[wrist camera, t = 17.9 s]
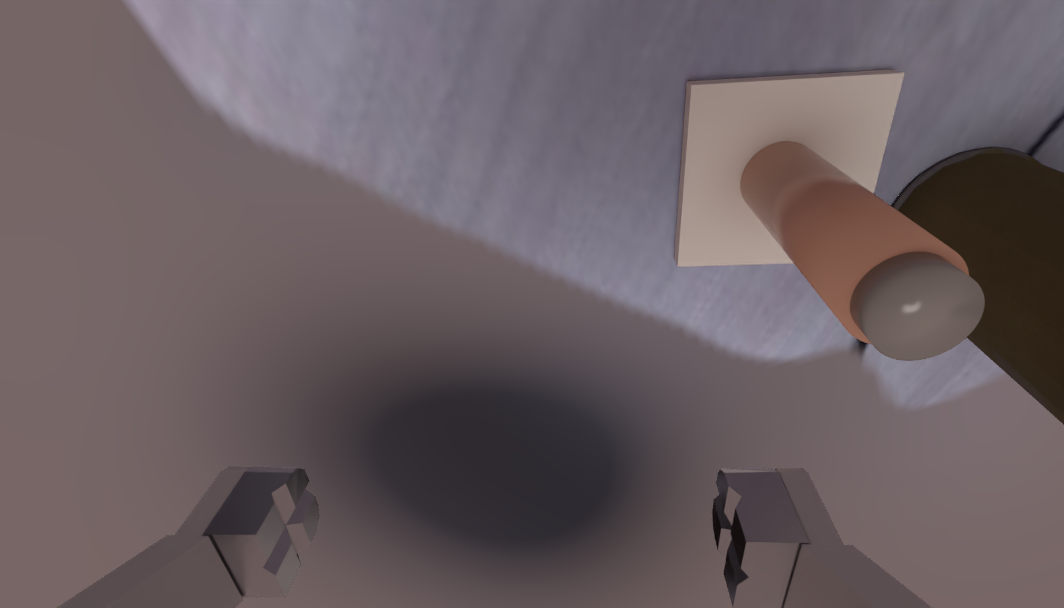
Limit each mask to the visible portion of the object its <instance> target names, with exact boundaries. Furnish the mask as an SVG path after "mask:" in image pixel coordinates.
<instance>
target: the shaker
mask: <svg viewBox="0 0 1064 608" xmlns="http://www.w3.org/2000/svg"><path fill="white" fill-rule="evenodd" d="M740 189H741V194H742V197H743V199H744V201H745V202H746V204H747V205H748V206H749V207H750V209H751V210H752V211H753V212H754V214H755V215H756V216H757V217H758V219H759V220H760V221H761V223H762V224H763V225H764V226H765V228H766V229H767V230H768V231H769V233H770V234H771V235H772V236H773V238H774V239H775V240H776V241H777V243H778V244H779V245H780V246H781V248H782V249H783V250H784V252H785V253H786V254H787V255H788V257H789V258H790V259H791V260H792V262H793V263H794V264H795V265H796V267H797V268H798V269H799V270H800V272H801V273H802V274H803V275H804V277H805V278H806V279H807V281H808V282H809V283H810V284H811V286H812V287H813V288H814V289H815V291H816V292H817V293H818V294H819V296H820V297H821V298H822V299H823V301H824V302H825V303H826V304H827V306H828V307H829V308H830V310H831V311H832V312H833V313H834V315H835V316H836V317H837V318H838V320H839V321H840V322H841V323H842V325H843V326H844V327H845V328H846V330H847V331H848V332H849V333H850V334H851V335H852V336H854V337H855V338H857V339H859V340H861V341H863V342H865V343H869V344H872V345H873V346H874V347H875V348H876V349H877V350H878V351H879V352H880V353H882V354H883V355H885V356H887V357H890V358H893V359H897V360H906V361H912V360H921V359H926V358H930V357H934V356H936V355H939V354H941V353H944V352H946V351H948V350H950V349H951V348H953V347H955V346H956V345H958V344H959V343H960V342H962V341H963V340H964V339H965V338H966V337H967V336H968V335H969V334H970V333H971V332H972V331H973V330H974V329H975V327H976V326H977V324H978V323H979V321H980V319H981V317H982V314H983V311H984V305H985V299H984V294H983V291H982V289H981V287H980V286H979V284H978V283H977V282H976V281H975V280H974V279H972V278H971V277H970V276H969V271H968V267H967V265H966V263H965V261H964V260H963V258H962V257H961V256H960V255H959V254H958V253H957V252H956V251H954V250H953V249H951V248H950V247H949V246H947V245H946V244H944V243H943V242H941V241H940V240H939V239H937V238H936V237H934V236H933V235H931V234H930V233H929V232H927V231H926V230H924V229H923V228H922V227H920V226H919V225H917V224H916V223H914V222H913V221H912V220H910V219H909V218H907V217H906V216H904V215H903V214H902V213H900V212H899V211H897V210H896V209H895V208H893V207H892V206H890V205H889V204H887V203H886V202H885V201H883V200H882V199H880V198H879V197H877V196H876V195H875V194H873V193H872V192H870V191H869V190H868V189H866V188H865V187H863V186H862V185H860V184H859V183H858V182H856V181H855V180H853V179H852V178H850V177H849V176H848V175H846V174H845V173H843V172H842V171H841V170H839V169H838V168H836V167H835V166H833V165H832V164H831V163H829V162H828V161H826V160H825V159H824V158H822V157H821V156H819V155H818V154H816V153H815V152H814V151H812V150H811V149H809V148H808V147H806V146H805V145H803V144H801V143H797V142H792V141H783V142H777V143H774V144H771V145H769V146H767V147H765V148H763V149H762V150H760V151H759V152H757V153H756V154H755V155H754V156H753V157H752V158H751V159H750V161H749V162H748V163H747V165H746V167H745V169H744V171H743V173H742V176H741V182H740Z"/></svg>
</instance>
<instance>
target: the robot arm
mask: <svg viewBox="0 0 1064 608" xmlns="http://www.w3.org/2000/svg"><path fill="white" fill-rule="evenodd" d="M308 483H309V478H308V476H307V474H306V472H305V469H301V468H281V467H235V466H229V467H227V468H226V469H224V470H222V471H221V472H220V473H219V475H218V476H217V477H216V479H215V480H214V482H213V483H212V484H211V486H210V487H209V488H208V490H207V491H206V492H205V494H204V495H203V497H202V498H201V499H200V501H199V502H198V504H197V505H196V506H195V507H194V509H193V510H192V512H191V513H190V515H189V516H188V517H187V518H186V520H185V521H184V523H183V524H182V525H181V527H180V528H179V529H178V531H177V532H176V534H175V535H166V536H165V537H164V538H162V539H160V540H159V541H158V542H156V543H154V544H153V545H151V546H150V547H148V548H147V549H145V550H144V551H142V552H141V553H139V554H138V555H136V556H135V557H133V558H131V559H130V560H128V561H127V562H125V563H124V564H122V565H121V566H119V567H118V568H116V569H115V570H113V571H112V572H110V573H109V574H107V575H106V576H104V577H103V578H101V579H100V580H98V581H96V582H95V583H93V584H92V585H90V586H89V587H87V588H86V589H84V590H83V591H82V592H80V593H78V594H77V595H75V596H74V597H72V598H71V599H69V600H68V601H66V602H65V603H63V604H62V605H60V606H58V607H57V608H235V607H236V606H237V605H239V603H241V602H242V601H243V598H242V597H286V596H287V593H288V591H289V589H290V587H291V585H292V583H293V580H294V579H295V577H296V575H297V572H298V570H299V568H300V566H301V563H300V559H299V555H298V554H299V553H301V552H302V551H303V550H304V549H306V548H307V547H308V546H309V545H311V543H312V540H313V538H314V536H315V533H316V531H317V526H318V520H319V506H318V502H317V499H316V497H315V496H314V495H313V494H312V493H311V492H309V491H308V490H307V489H305V488H306V486H307V485H308ZM716 485H717V488H718V492H719V495H718V496H717V497H716V498H715V499H714V500H713V509H712V522H713V531H714V537H715V541H716V546H717V550H718V552H719V553H720V554H721V555H723V556H724V557H725V558H726V561H725V567H724V577H725V581H726V584H727V588H728V592H729V596H730V599H731V603H732V607H733V608H932V607H931V606H929V605H928V604H927V603H926V602H924V601H923V600H922V599H921V598H919V597H918V596H917V595H915V594H914V593H913V592H912V591H910V590H909V589H908V588H907V587H905V586H904V585H903V584H901V583H900V582H899V581H898V580H896V579H895V578H894V577H893V576H891V575H890V574H889V573H887V572H886V571H885V570H884V569H882V568H881V567H880V566H879V565H877V564H876V563H875V562H873V561H872V560H871V559H870V558H868V557H867V556H866V555H864V554H863V553H862V552H861V551H859V550H858V549H857V548H856V547H854V546H853V545H844V544H843V542H842V540H841V538H840V536H839V534H838V532H837V530H836V528H835V526H834V524H833V522H832V520H831V518H830V516H829V514H828V512H827V510H826V508H825V506H824V504H823V502H822V500H821V498H820V496H819V494H818V492H817V490H816V488H815V486H814V484H813V482H812V480H811V478H810V476H809V473H808V472H807V471H805V470H804V469H803V468H800V469H796V468H793V469H773V468H762V469H761V468H760V469H759V468H758V469H757V468H755V469H720V470H719V472H718V474H717V480H716Z"/></svg>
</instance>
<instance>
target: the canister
mask: <svg viewBox="0 0 1064 608" xmlns="http://www.w3.org/2000/svg"><path fill="white" fill-rule="evenodd" d="M892 207H893V208H895V209H896V210H897V211H899V212H900V213H902V214H903V215H904V216H906V217H907V218H909V219H910V220H912V221H913V222H914V223H916V224H917V225H919V226H920V227H922V228H923V229H924V230H926V231H927V232H929V233H930V234H931V235H933V236H934V237H936V238H937V239H939V240H940V241H941V242H943V243H944V244H946V245H947V246H949V247H950V248H951V249H953V250H954V251H956V252H957V253H958V254H959V255H960V256H961V257H962V258H963V260H964V261H965V263H966V265H967V267H968V271H969V276H970V277H971V278H972V279H974V280H975V281H976V282H977V283H978V284H979V286H980V287H981V289H982V291H983V294H984V299H985V305H984V311H983V314H982V317H981V319H980V321H979V323H978V324H977V326H976V327H975V329H974V330H973V331H972V332H971V333H970V334H969V335H968V336H967V338H968V339H969V340H970V341H971V342H973V343H974V344H975V345H976V346H977V347H978V348H979V349H980V350H981V351H983V352H984V353H985V354H986V355H987V356H988V357H989V358H990V359H991V360H993V361H994V362H995V363H996V364H997V365H998V366H999V367H1000V368H1001V369H1003V370H1004V371H1005V372H1006V373H1007V374H1008V375H1009V376H1010V377H1011V378H1013V379H1014V380H1015V381H1016V382H1017V383H1018V384H1019V385H1020V386H1022V387H1023V388H1024V389H1025V390H1026V391H1027V392H1028V393H1029V394H1030V395H1032V396H1033V397H1034V398H1035V399H1036V400H1037V401H1038V402H1039V403H1040V404H1042V405H1043V406H1044V407H1045V408H1046V409H1047V410H1048V411H1049V412H1050V413H1052V414H1053V415H1054V416H1055V417H1056V418H1057V419H1058V420H1059V421H1061V422H1062V423H1063V424H1064V173H1063V172H1060V171H1057V170H1055V169H1052V168H1049V167H1047V166H1044V165H1042V164H1041V163H1039V162H1038V161H1037V160H1035V159H1034V158H1033V157H1031V156H1029V155H1027V154H1025V153H1023V152H1020V151H1016V150H1012V149H1009V148H994V147H989V148H984V149H978V150H973V151H968V152H963V153H959V154H957V155H955V156H953V157H951V158H949V159H946V160H944V161H942V162H940V163H938V164H937V165H935V166H933V167H931V168H930V169H928V170H927V171H925V172H924V173H922V174H921V175H919V176H918V177H917V178H916V179H915V180H914V181H913V182H912V183H911V184H910V185H909V186H908V187H907V188H906V189H905V190H904V191H903V192H902V193H901V195H900V196H899V198H898V199H897V200H896V202H895V203H894V205H893V206H892Z"/></svg>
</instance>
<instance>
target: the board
mask: <svg viewBox="0 0 1064 608" xmlns="http://www.w3.org/2000/svg"><path fill="white" fill-rule="evenodd" d="M904 74H905V73H903V72H900V71H896V70H892V69H890V70H873V71H856V72H838V73H821V74H804V75H787V76H770V77H753V78H736V79H718V80H701V81H687V86H686V100H685V114H684V128H683V142H682V155H681V169H680V183H679V197H678V211H677V224H676V238H675V252H674V259H675V261H676V264H677V267H689V266H723V265H756V264H789V263H793V262H792V260H791V259H790V258H789V257H788V255H787V254H786V253H785V252H784V250H783V249H782V248H781V246H780V245H779V244H778V243H777V241H776V240H775V239H774V238H773V236H772V235H771V234H770V233H769V231H768V230H767V229H766V228H765V226H764V225H763V224H762V223H761V221H760V220H759V219H758V217H757V216H756V215H755V214H754V212H753V211H752V210H751V209H750V207H749V206H748V205H747V204H746V202H745V201H744V199H743V197H742V194H741V189H740V182H741V176H742V173H743V171H744V169H745V167H746V165H747V163H748V162H749V161H750V159H751V158H752V157H753V156H754V155H755V154H756V153H757V152H759V151H760V150H762V149H763V148H765V147H767V146H769V145H771V144H774V143H777V142H783V141H792V142H797V143H801V144H803V145H805V146H806V147H808V148H809V149H811V150H812V151H814V152H815V153H816V154H818V155H819V156H821V157H822V158H824V159H825V160H826V161H828V162H829V163H831V164H832V165H833V166H835V167H836V168H838V169H839V170H841V171H842V172H843V173H845V174H846V175H848V176H849V177H850V178H852V179H853V180H855V181H856V182H858V183H859V184H860V185H862V186H863V187H865V188H866V189H868V190H869V191H870V192H872V193H873V194H874V190H875V187H876V183H877V179H878V175H879V171H880V167H881V163H882V159H883V155H884V152H885V148H886V144H887V140H888V136H889V132H890V128H891V124H892V120H893V117H894V113H895V109H896V105H897V101H898V97H899V93H900V89H901V85H902V81H903V78H904Z"/></svg>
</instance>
